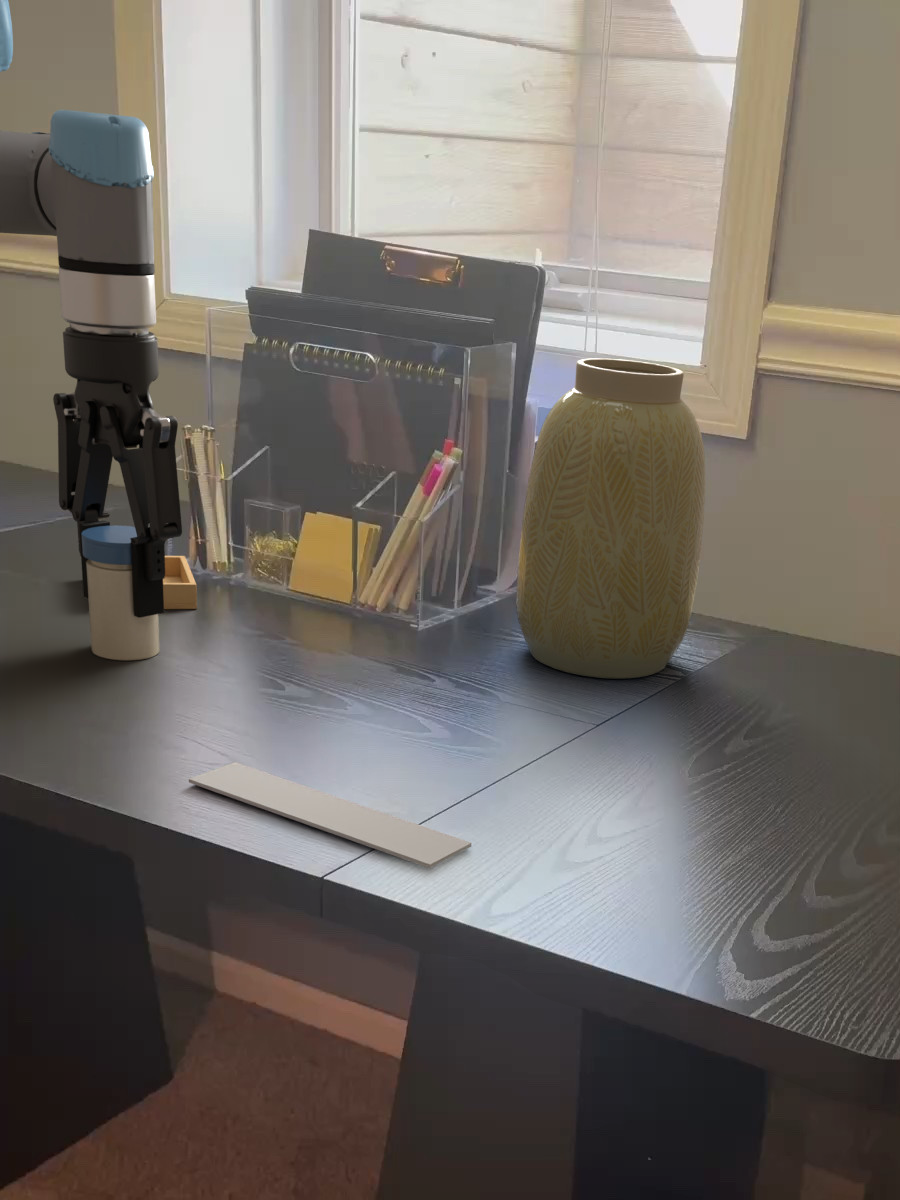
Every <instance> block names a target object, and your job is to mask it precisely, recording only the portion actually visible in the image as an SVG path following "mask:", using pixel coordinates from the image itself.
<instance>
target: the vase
mask: <svg viewBox="0 0 900 1200" xmlns="http://www.w3.org/2000/svg"><path fill="white" fill-rule="evenodd" d="M683 379H684V371H682V370H680V369H678V368H676V367H673V366H668V365H663V364H658V363H653V362H645V361H639V360H630V359H618V358H582V359H579V360H577V361H576V365H575V382H574V387H572V388H571V389H569V390H567V392H566V393H563V395H562V396H561V397H560V398H559V399H558V400H556V402H555V403H554V405H553V406H552V407H551V409H550V410H549V412H548V414H547V415H546V417H545V419H544V421H543V423H542V426H541V428H540V431H539V434H538V437H537V441H536V445H535V449H534V452H533V457H532V462H531V465H530V471H529V476H528V481H527V486H526V487H527V488H526V493H525V499H524V507H523V514H522V520H521V529H520V539H519V550H518V561H517V574H516V575H517V576H516V596H515V597H516V598H515V600H516V601H515V605H516V607H515V608H516V617H517V621H518V624H519V628H520V631H521V634H522V636H523V639H524V641H525V643H526V646H527V648H528V651H529V653H530V655H532V657H533V658H534V659H535V660H537V661H538V662H540V663H541V664H543V665H545V666H547V667H550V668H552V669H555V670H557V671H561V672H565V673H568V674H572V675H578V676H583V677H589V678H597V679H610V680H612V679H613V680H622V679H623V680H627V679H638V678H644V677H648V676H653V675H656V674H657V673H659V672H661V671H663V670H664V669H665V668H666V667H667V665H668V664H669V662H670V661H671V659H672V658H673V656H675V654H676V652H677V651H678V650H679V648H680V646H681V644H682V642H683V641H684V639H685V637H686V634H687V631H688V629H689V625H690V621H691V616H692V611H693V608H694V607H693V606H694V601H695V595H696V588H697V582H698V578H699V577H698V576H699V568H700V560H701V551H702V544H703V543H702V541H703V531H704V521H705V520H704V518H705V505H706V504H705V503H706V456H705V444H704V439H703V436H702V432H701V429H700V426H699V424H698V422H697V419H696V417H695V415H694V413H693V412H692V410H691V409H690V407H689V406H688V405H687V403H686V402H685V401H684V400H682V398H681V393H682V387H683V381H684V380H683Z"/></svg>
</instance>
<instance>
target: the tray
mask: <svg viewBox="0 0 900 1200" xmlns="http://www.w3.org/2000/svg"><path fill="white" fill-rule="evenodd" d="M197 586H198V585H197V583H196V579H195V578H194V575H193V572H192V570H191V567H190V565H189V562H188V560H187V558H186V556H185V555H165V577H164V579H163V596H164V610H197V609H198V592H197V591H198V590H197Z"/></svg>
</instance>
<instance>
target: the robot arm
mask: <svg viewBox="0 0 900 1200" xmlns="http://www.w3.org/2000/svg"><path fill="white" fill-rule="evenodd" d="M12 23H13V22H12V16H11V9H10V3H9V0H0V73H1V72H6V71H7V70H9V68H10V65H11V64H12V62H13V56H14V35H13V24H12ZM49 131H50V132H49V133H45V132H42V131H33V132H20V131H11V130H0V234H14V235H30V236H50V237H56V243H57V244H56V245H57V255H58V257H57V259H58V260H57V261H58V262H57V263H58V282H59V283H58V285H59V305H60V317H61V318H62V319H63V321H65V322H66V323H69V326H67V327H66V328H65V329H64V331H62V342H63V357H64V370H65V373H66V374H67V375H68V376H69V377H71V378H73V379H75V380H76V385H75V388H74V391H73V392H59V393H54V394H53V397H52V400H53V401H52V402H53V407H54V410H55V415H56V420H57V459H58V505H59V507H60V509H61V510H62V511H68V512H69V513H71V515H72V518H73V520H74V521H75V522H76V524H77V538H78V540H77V541H78V552H79V557H80V560H81V561H80V562H81V577H82V593H83V598H85V599H88V584H87V567H86V562H87V560H88V559H87V558H85V557H84V556H83V548H82V532H83V531H84V530H86V529H89V528H93V527H99V526H111V522H110V521H108V520H102V519H109V517H110V515H111V514H110V513H109V512H108V511H106V510H105V507H106V500H107V494H108V487H109V482H110V476H111V470H112V463H113V459H114V461H116V462H118V464H119V468H120V471H121V475H122V479H123V483H124V488H125V490H126V491H125V492H126V497H127V500H128V504H129V508H130V513H131V516H132V521H133V525H134V527H135V529H136V534H137V537H134V538H130V539H131V560H132V582H133V604H134V616H136V617H139V618H141V617H146V616H151V615H156V614H158V615H160V614H165V609H164V596H163V579H164V577H165V556H166V552H165V551H166V550H165V547H166V546H165V544H166V541H167V540H170V539H173V538H178V537H181V536H182V534H183V524H182V514H181V501H180V500H181V499H180V491H179V490H180V489H179V478H178V477H179V476H178V467H177V455H176V441H177V434H178V426H179V425H178V420H177V418H176V417H175V416H174V415H165V416H163V415H162V414H160V413H159V412H157V411H156V410H155V409H154V403H153V401H152V398H151V393H150V385H151V384H152V383H153V382H155V381H156V380H157V379H158V378H159V374H160V373H159V347H158V345H159V344H158V337H156V335H155V333H154V332H152V331H150V328H154V327H155V325H156V324H157V307H156V306H157V304H156V303H157V302H156V283H155V282H156V281H155V273H156V271H155V270H156V269H155V267H156V266H155V232H154V231H155V229H154V193H153V192H154V190H153V189H154V188H153V180H154V178H155V175H154V174H155V173H154V172H155V168H154V165H153V163H152V153H151V143H150V133H149V130H148V127H147V125H146V124H145V122H144V121H143V120H141V119H140V118H138V117H136V116H131V115H119V114H110V113H102V112H101V113H100V112H90V111H81V110H71V109H58V110H56V111H54V112H53V114H52V115H51V118H50V130H49ZM72 493H74V494H72ZM100 519H101V520H100Z"/></svg>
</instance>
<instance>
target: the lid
mask: <svg viewBox="0 0 900 1200" xmlns="http://www.w3.org/2000/svg"><path fill="white" fill-rule="evenodd" d="M134 537H137V534H136V529H135V526H131V525H110V526H99V527H93V528H89V529H86V530H84V531H83V532H82V548H83V556H84V557H85V558H87V559H89V560H92V561H96V562H100V563H107V564H119V565H131V564H132V560H131V539H130V538H134Z"/></svg>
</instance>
